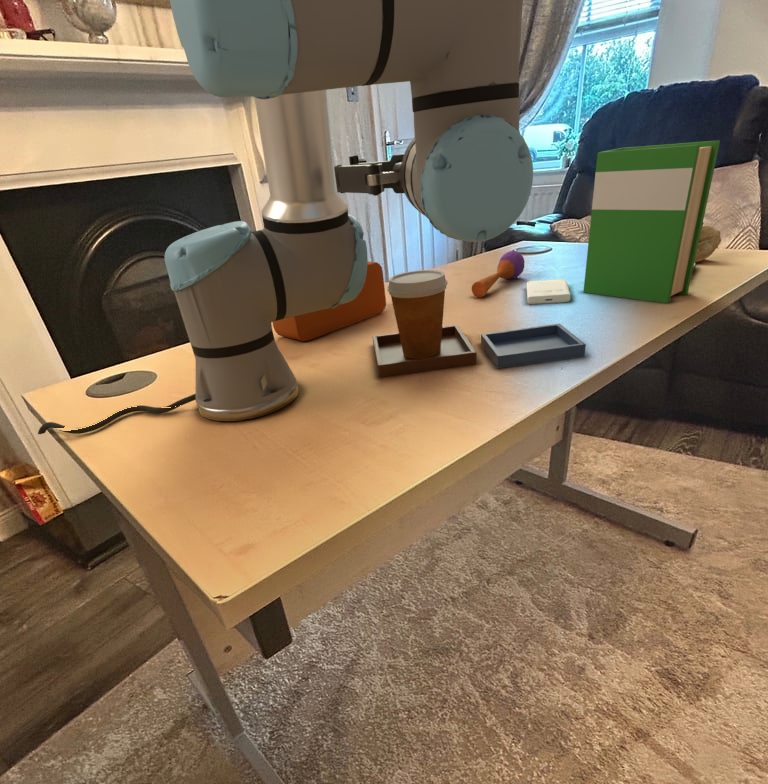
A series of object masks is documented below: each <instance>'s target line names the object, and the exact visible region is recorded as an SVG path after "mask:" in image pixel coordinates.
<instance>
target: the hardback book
mask: <svg viewBox="0 0 768 784" xmlns="http://www.w3.org/2000/svg"><path fill="white" fill-rule="evenodd" d="M720 143H721V140H720V139H719V140H718V139H717V140H706V141H692V142H681V143H680V142H679V143H667V144H655V145H654V144H653V145H643V146H641V145H640V146H630V147H629V146H628V147H620V148H613V149H608V150H604V151H599V152H597V156H596V165H595V173H594V174H595V175H594V185H593V194H592V195H593V196H592V205H591V213H590V214H591V215H590V223H589V232H588V233H589V234H588V243H587V251H586V264H585V273H584V283H583V291H582V292H583V293H587V294H594V295H601V296H610V297H616V298H624V299H632V300H639V301H647V302H656V303H663V304H669V303H670V302H671V298H672V296H674V295H676V294H677V295H683V296H685V295H688V294H689V290H690V285H691V282H692V281H691V280H692V275H693V272H694V270H693V267H694V263H696V262H695V257H696V253H697V248H698V243H699V238H700V234H701V229H702V226H703V224H704V219H705V214H706V210H707V204H708V201H709V195H710V191H711V186H712V182H713V181H712V180H713V176H714V171H715V168H716V163H717V158H718V152H719V148H720ZM692 271H693V272H692Z"/></svg>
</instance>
